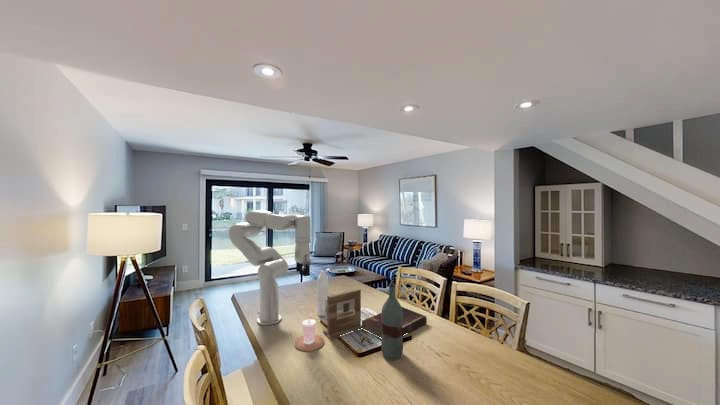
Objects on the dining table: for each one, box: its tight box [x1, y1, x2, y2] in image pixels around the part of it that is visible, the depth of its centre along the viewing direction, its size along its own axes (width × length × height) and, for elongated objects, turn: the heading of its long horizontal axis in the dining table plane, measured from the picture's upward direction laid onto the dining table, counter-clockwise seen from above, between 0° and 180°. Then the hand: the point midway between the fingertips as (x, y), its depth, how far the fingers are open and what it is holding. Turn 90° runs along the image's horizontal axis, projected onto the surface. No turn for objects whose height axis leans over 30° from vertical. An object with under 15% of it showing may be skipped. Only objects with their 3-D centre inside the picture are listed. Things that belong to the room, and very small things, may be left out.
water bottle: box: [316, 268, 331, 317], centre depth 158 cm, size 9×6×25 cm
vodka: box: [380, 283, 404, 361], centre depth 116 cm, size 9×9×30 cm
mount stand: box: [322, 288, 362, 340], centre depth 137 cm, size 10×18×20 cm, turn 124°
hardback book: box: [361, 306, 428, 338], centre depth 141 cm, size 29×19×5 cm, turn 133°
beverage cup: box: [301, 310, 317, 344], centre depth 125 cm, size 6×6×14 cm
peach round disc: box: [294, 334, 325, 352], centre depth 125 cm, size 13×13×1 cm
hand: (302, 273), depth 139 cm, fingers open, 9 cm apart
